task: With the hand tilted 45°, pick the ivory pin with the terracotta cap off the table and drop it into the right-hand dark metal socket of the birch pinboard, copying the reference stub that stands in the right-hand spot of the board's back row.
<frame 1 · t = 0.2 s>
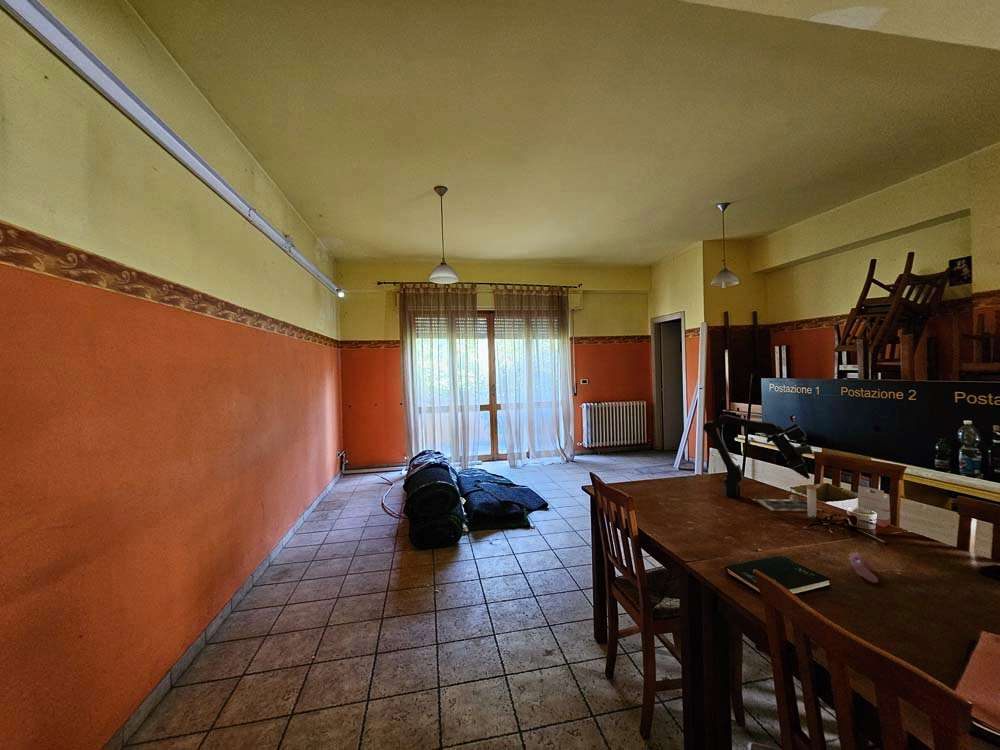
hand: (808, 476, 171), 15 cm above the table, tool tilted 35°, fingers open, 9 cm apart
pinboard: (785, 506, 173), on the table
pink rounded piece: (862, 575, 116), on the table
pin: (812, 516, 161), on the table
ink cartridge box: (874, 523, 153), on the table
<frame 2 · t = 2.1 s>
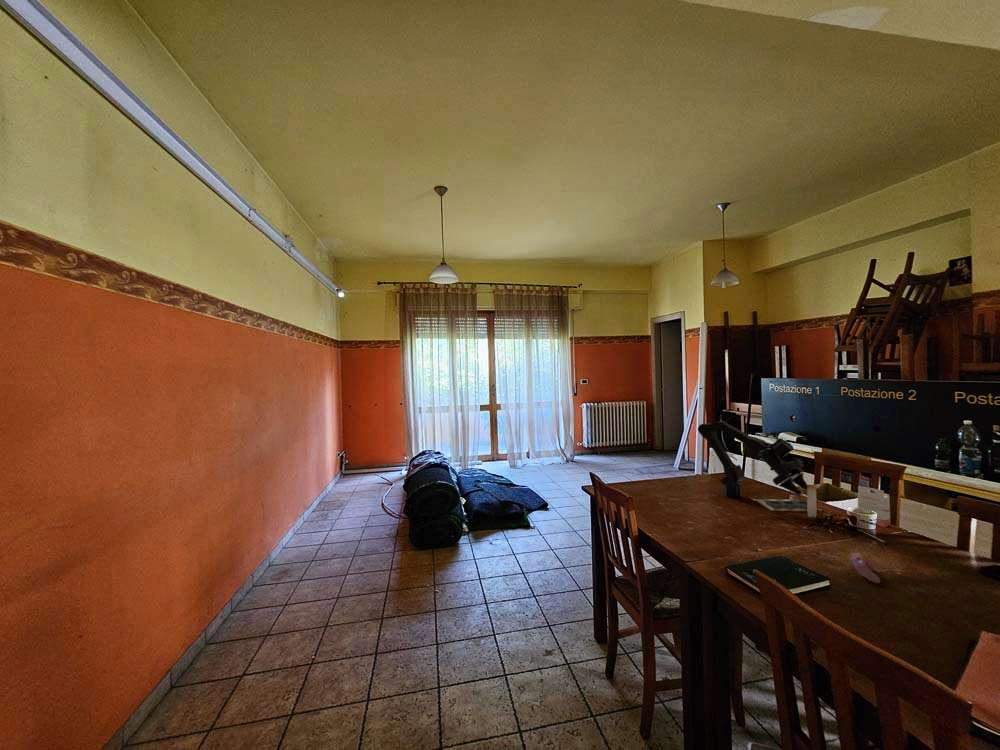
hand: (805, 492, 163), 10 cm above the table, tool tilted 45°, fingers open, 9 cm apart
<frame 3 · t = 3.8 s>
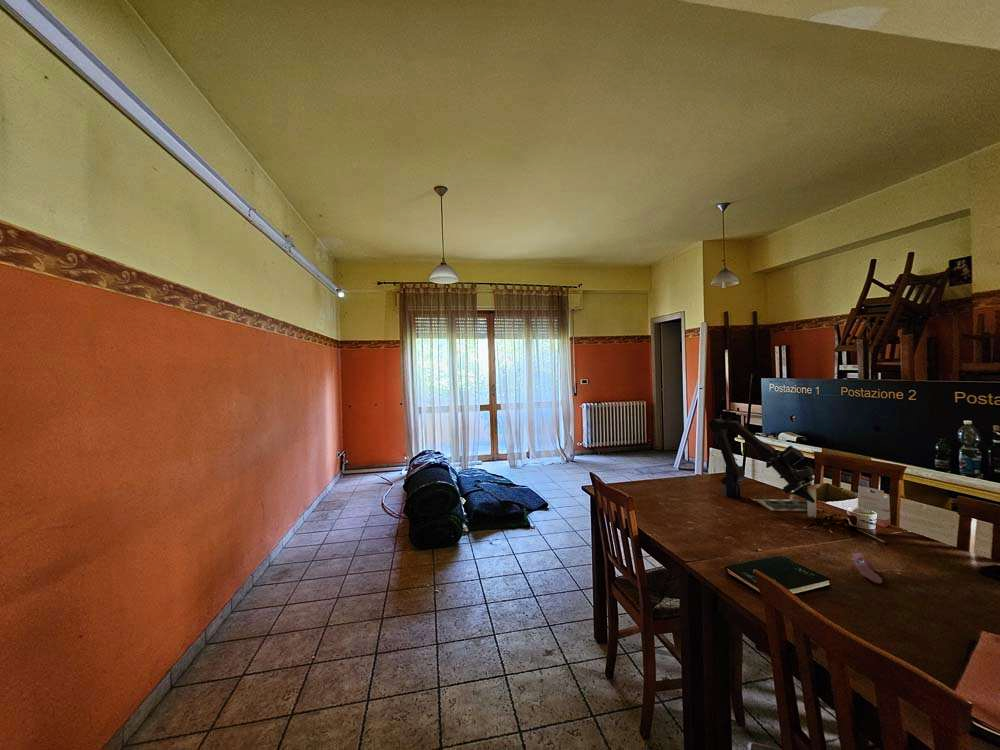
hand: (815, 501, 160), 7 cm above the table, tool tilted 45°, fingers closed on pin, 3 cm apart
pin: (812, 516, 161), on the table, touching gripper
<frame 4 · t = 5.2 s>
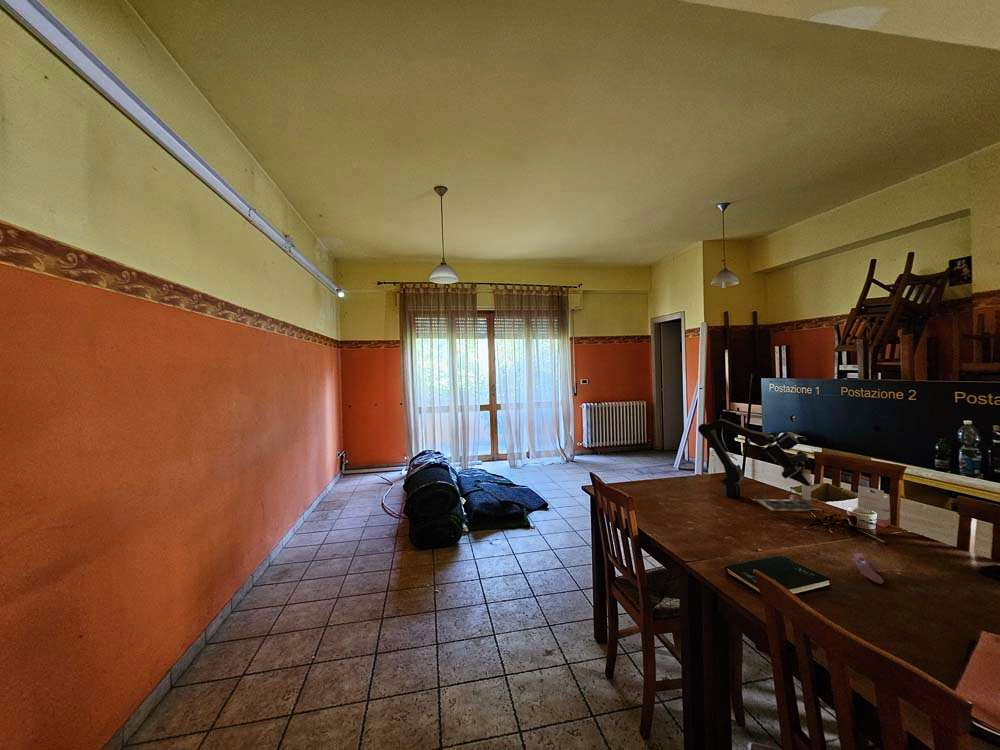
hand: (810, 484, 166), 12 cm above the table, tool tilted 45°, fingers closed on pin, 3 cm apart
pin: (806, 499, 167), point 5 cm above the table, touching gripper
when the fingers open (9 cm above the table, at t = 6.4 s): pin drops 1 cm, resting on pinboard.
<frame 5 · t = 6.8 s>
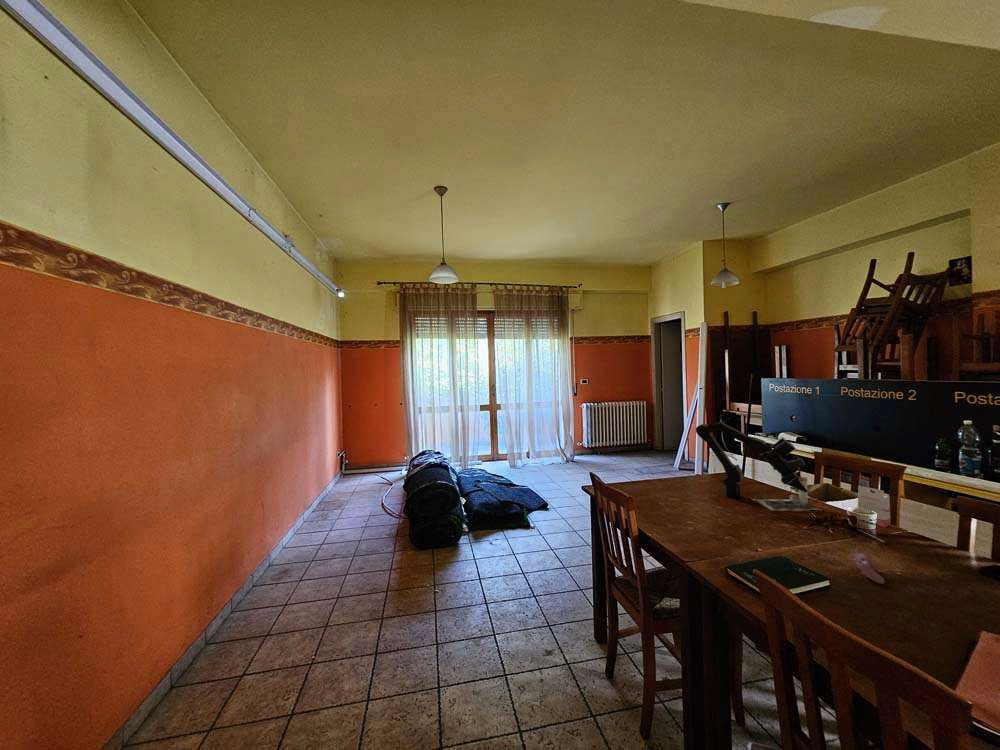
hand: (807, 489, 169), 9 cm above the table, tool tilted 45°, fingers open, 7 cm apart
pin: (803, 506, 170), point 1 cm above the table, touching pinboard
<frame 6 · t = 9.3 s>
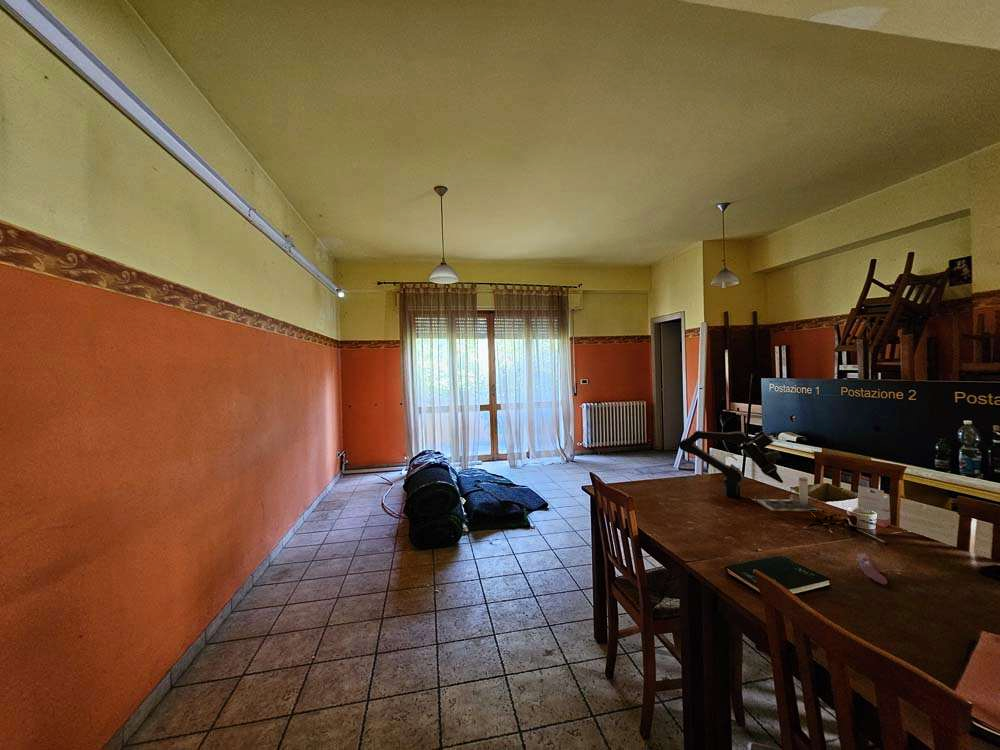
hand: (781, 481, 177), 11 cm above the table, tool tilted 40°, fingers open, 9 cm apart
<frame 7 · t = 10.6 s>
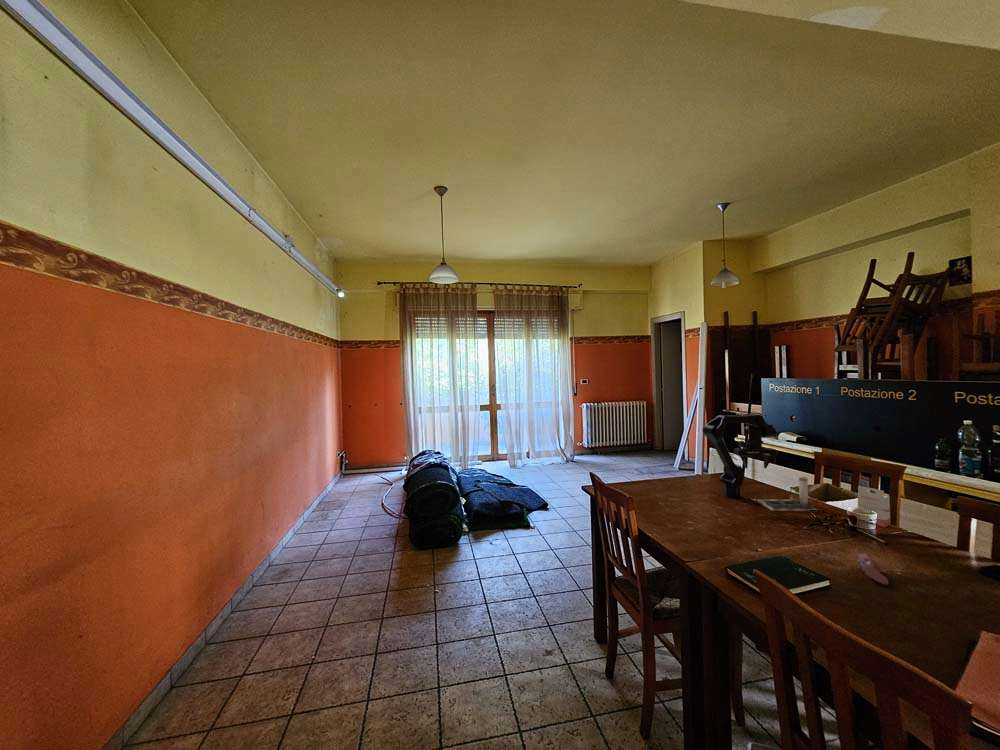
hand: (755, 468, 192), 13 cm above the table, tool pointing down, fingers open, 9 cm apart
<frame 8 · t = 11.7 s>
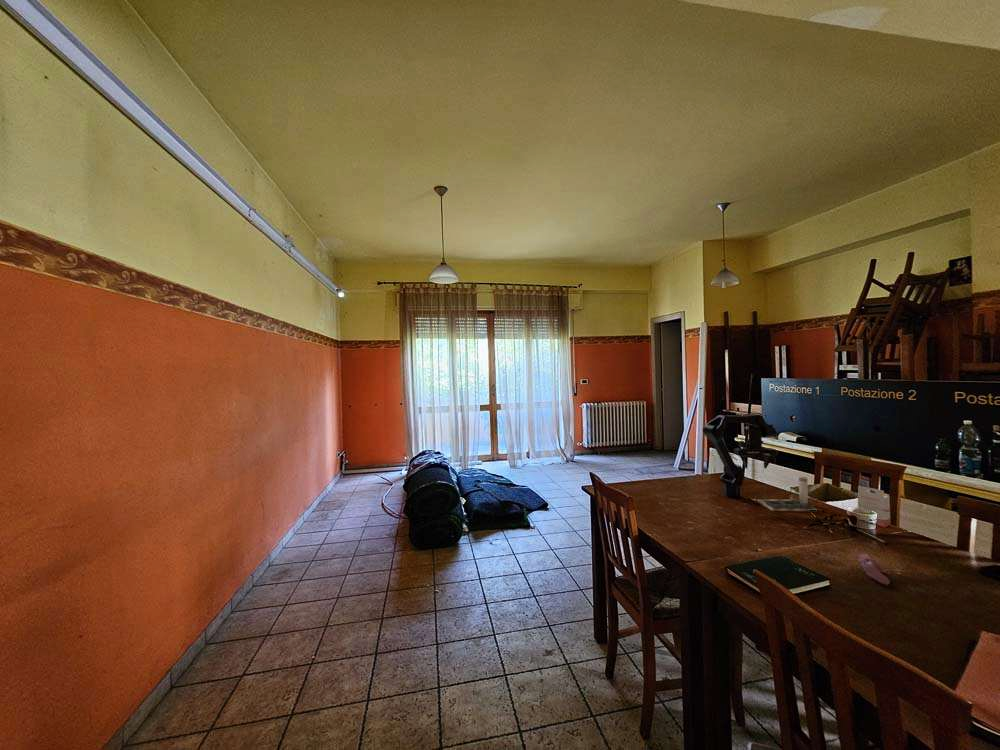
hand: (755, 468, 192), 13 cm above the table, tool pointing down, fingers open, 9 cm apart
at the end: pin 0.0 cm from the target spot on the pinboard, point 1.0 cm above the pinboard's base; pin tilted 0°; the gripper is holding nothing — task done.
